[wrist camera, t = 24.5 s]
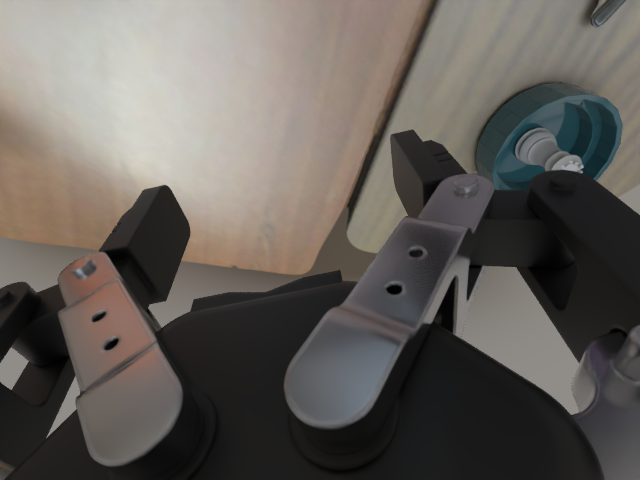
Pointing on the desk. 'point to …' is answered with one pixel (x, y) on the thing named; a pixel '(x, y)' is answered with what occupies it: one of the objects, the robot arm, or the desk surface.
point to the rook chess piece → (545, 152)
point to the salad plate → (604, 11)
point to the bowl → (561, 120)
